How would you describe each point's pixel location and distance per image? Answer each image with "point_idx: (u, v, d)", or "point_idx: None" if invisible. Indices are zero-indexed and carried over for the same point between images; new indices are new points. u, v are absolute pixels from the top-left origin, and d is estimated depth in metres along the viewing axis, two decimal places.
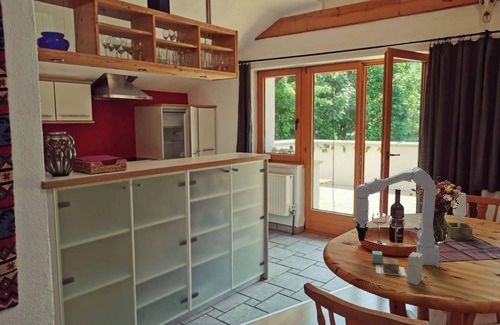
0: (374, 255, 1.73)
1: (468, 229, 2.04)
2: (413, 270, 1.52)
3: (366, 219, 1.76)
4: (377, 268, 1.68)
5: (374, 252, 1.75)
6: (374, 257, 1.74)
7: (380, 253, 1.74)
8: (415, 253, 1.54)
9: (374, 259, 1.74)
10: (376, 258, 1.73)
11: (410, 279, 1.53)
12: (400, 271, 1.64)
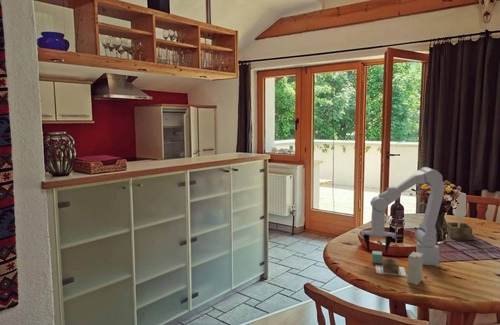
0: (374, 255, 1.73)
1: (468, 229, 2.04)
2: (413, 270, 1.52)
3: (373, 232, 1.72)
4: (377, 268, 1.68)
5: (374, 252, 1.75)
6: (374, 257, 1.74)
7: (380, 253, 1.74)
8: (415, 253, 1.54)
9: (374, 259, 1.74)
10: (376, 258, 1.73)
11: (410, 279, 1.53)
12: (400, 271, 1.64)
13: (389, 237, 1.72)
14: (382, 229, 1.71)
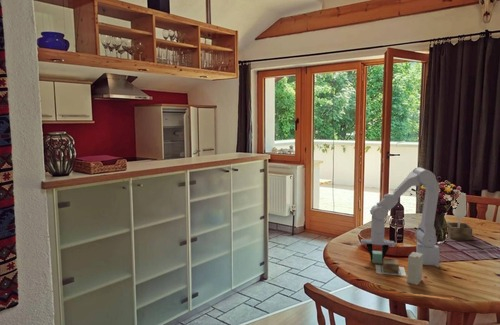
0: (374, 255, 1.73)
1: (468, 229, 2.04)
2: (413, 270, 1.52)
3: (373, 240, 1.73)
4: (377, 268, 1.68)
5: (374, 252, 1.75)
6: (374, 257, 1.74)
7: (380, 253, 1.74)
8: (415, 253, 1.54)
9: (374, 259, 1.74)
10: (376, 258, 1.73)
11: (410, 279, 1.53)
12: (400, 271, 1.64)
13: None
14: (382, 238, 1.71)
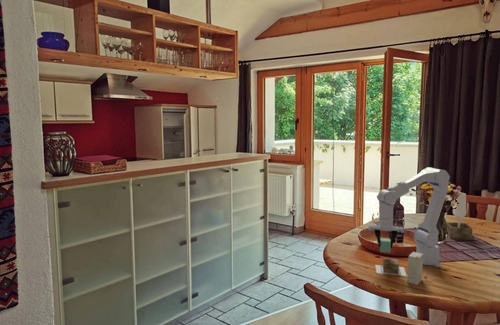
0: (382, 242, 1.67)
1: (468, 229, 2.04)
2: (413, 270, 1.52)
3: (381, 226, 1.66)
4: (377, 268, 1.68)
5: (382, 239, 1.69)
6: (382, 244, 1.67)
7: (388, 240, 1.67)
8: (415, 253, 1.54)
9: (382, 246, 1.67)
10: (384, 245, 1.67)
11: (410, 279, 1.53)
12: (400, 271, 1.64)
13: None
14: (390, 223, 1.65)
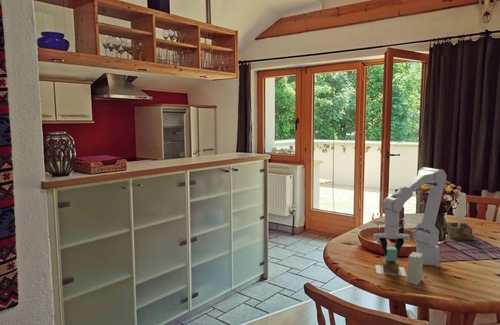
0: (389, 250, 1.63)
1: (468, 229, 2.04)
2: (413, 270, 1.52)
3: (387, 234, 1.62)
4: (377, 268, 1.68)
5: (388, 247, 1.65)
6: (389, 253, 1.63)
7: (394, 248, 1.64)
8: (415, 253, 1.54)
9: (389, 255, 1.63)
10: (391, 254, 1.63)
11: (410, 279, 1.53)
12: (400, 271, 1.64)
13: None
14: (397, 231, 1.61)
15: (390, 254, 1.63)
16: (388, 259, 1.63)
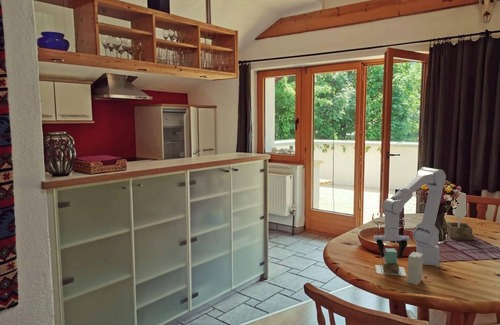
0: (389, 253, 1.63)
1: (468, 229, 2.04)
2: (413, 270, 1.52)
3: (387, 236, 1.62)
4: (377, 268, 1.68)
5: (388, 250, 1.65)
6: (389, 255, 1.63)
7: (394, 250, 1.64)
8: (415, 253, 1.54)
9: (389, 257, 1.63)
10: (391, 256, 1.63)
11: (410, 279, 1.53)
12: (400, 271, 1.64)
13: (404, 241, 1.63)
14: (397, 233, 1.61)
15: (390, 256, 1.63)
16: (388, 261, 1.63)
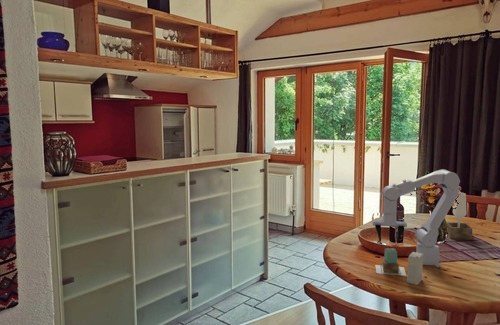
0: (389, 253, 1.63)
1: (468, 229, 2.04)
2: (413, 270, 1.52)
3: (385, 221, 1.71)
4: (377, 268, 1.68)
5: (388, 250, 1.65)
6: (389, 255, 1.63)
7: (394, 250, 1.64)
8: (415, 253, 1.54)
9: (389, 257, 1.63)
10: (391, 256, 1.63)
11: (410, 279, 1.53)
12: (400, 271, 1.64)
13: (401, 226, 1.71)
14: (394, 218, 1.70)
15: (390, 256, 1.63)
16: (388, 261, 1.63)
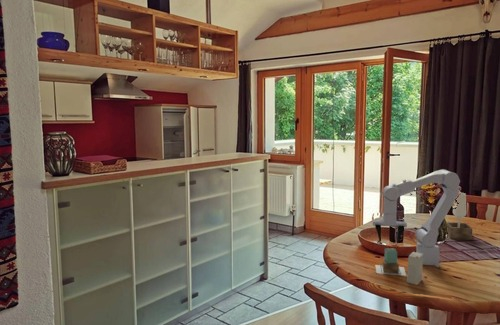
0: (389, 253, 1.63)
1: (468, 229, 2.04)
2: (413, 270, 1.52)
3: (385, 221, 1.71)
4: (377, 268, 1.68)
5: (388, 250, 1.65)
6: (389, 255, 1.63)
7: (394, 250, 1.64)
8: (415, 253, 1.54)
9: (389, 257, 1.63)
10: (391, 256, 1.63)
11: (410, 279, 1.53)
12: (400, 271, 1.64)
13: (401, 226, 1.71)
14: (394, 218, 1.70)
15: (390, 256, 1.63)
16: (388, 261, 1.63)
